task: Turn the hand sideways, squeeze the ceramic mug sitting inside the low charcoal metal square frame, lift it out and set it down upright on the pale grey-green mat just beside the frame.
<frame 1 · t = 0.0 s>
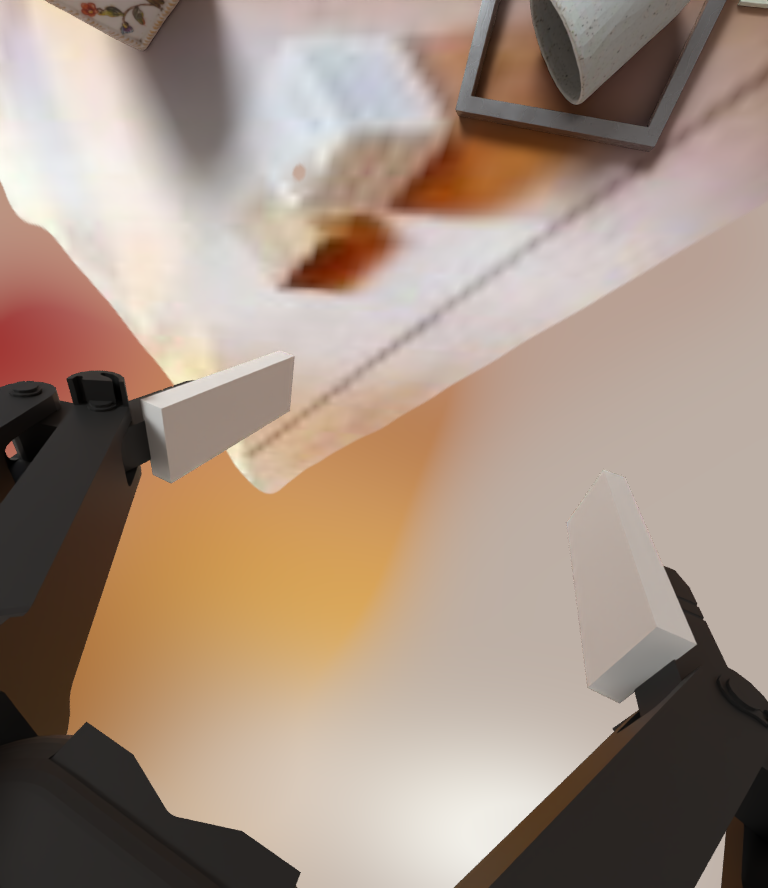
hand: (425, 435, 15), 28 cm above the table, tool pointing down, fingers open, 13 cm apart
ceramic mug: (591, 12, 26), on the table
square frame: (592, 10, 26), on the table
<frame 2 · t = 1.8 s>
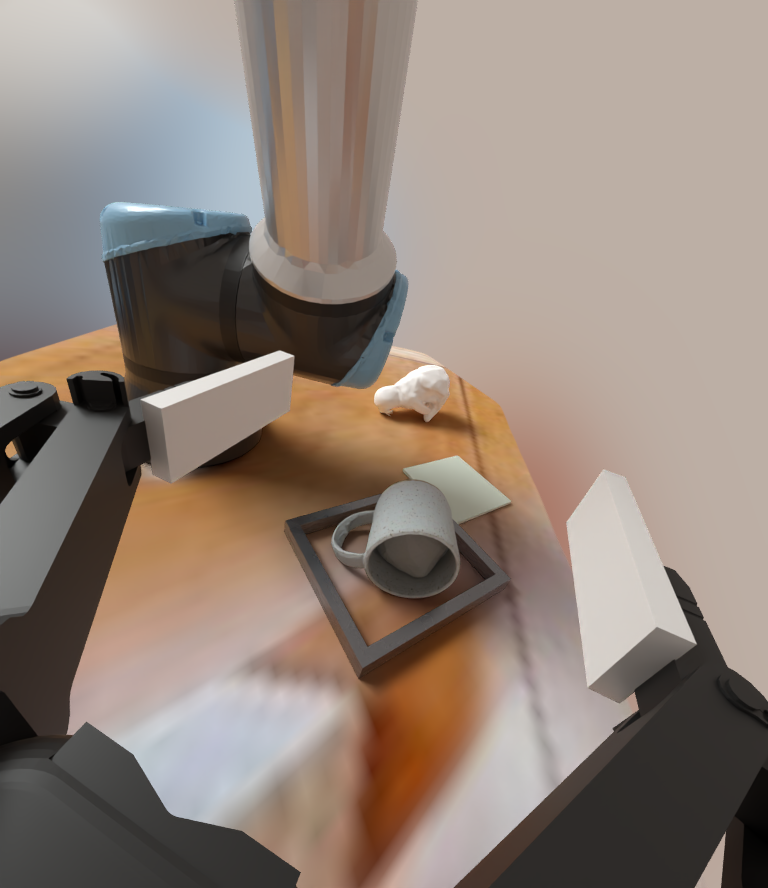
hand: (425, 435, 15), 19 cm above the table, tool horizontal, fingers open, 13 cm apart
ceramic mug: (387, 561, 33), on the table
grey-green mat: (455, 487, 44), on the table
square frame: (394, 560, 33), on the table
white figurine: (404, 414, 59), on the table
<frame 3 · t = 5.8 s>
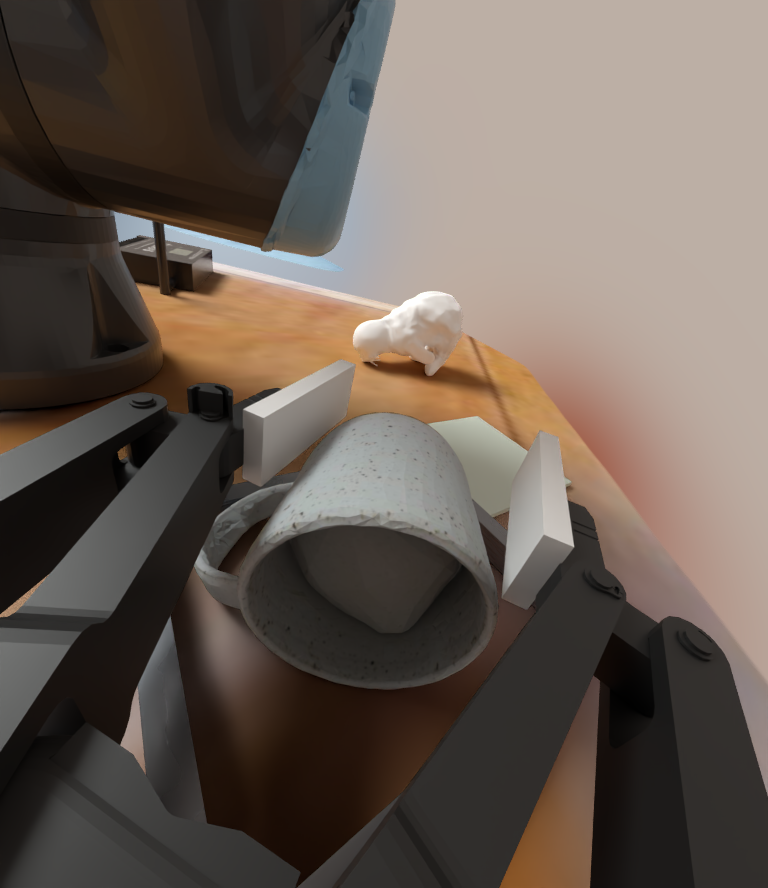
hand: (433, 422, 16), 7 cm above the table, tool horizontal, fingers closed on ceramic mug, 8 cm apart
ceramic mug: (328, 588, 15), on the table, touching gripper
grey-green mat: (478, 459, 27), on the table
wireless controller: (162, 280, 52), on the table
square frame: (365, 593, 15), on the table
white figurine: (397, 366, 41), on the table
when the fingers open (8 cm above the table, at t = 12.0 s): ceramic mug drops 2 cm, resting on grey-green mat.
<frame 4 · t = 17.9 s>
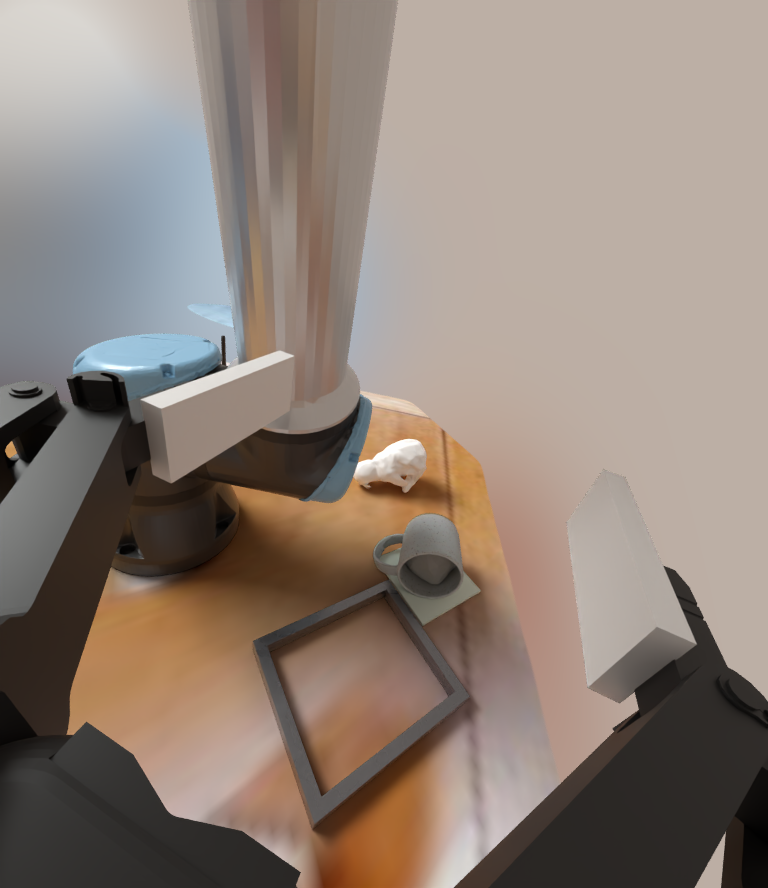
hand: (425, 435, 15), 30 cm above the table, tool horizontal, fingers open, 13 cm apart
ceramic mug: (411, 571, 46), resting on grey-green mat
grey-green mat: (427, 575, 46), on the table
square frame: (358, 676, 34), on the table
white figurine: (383, 484, 60), on the table
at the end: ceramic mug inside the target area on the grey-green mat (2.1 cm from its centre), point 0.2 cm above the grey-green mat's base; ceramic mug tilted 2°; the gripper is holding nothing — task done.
